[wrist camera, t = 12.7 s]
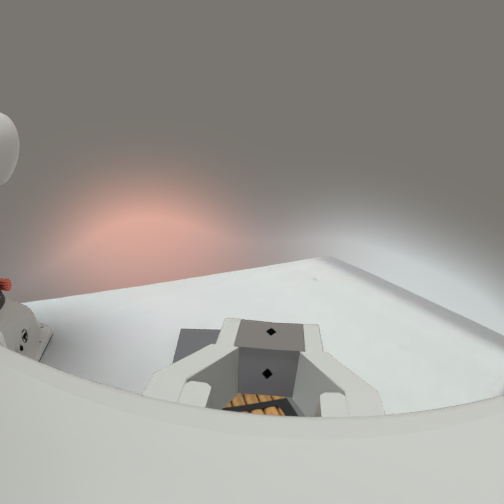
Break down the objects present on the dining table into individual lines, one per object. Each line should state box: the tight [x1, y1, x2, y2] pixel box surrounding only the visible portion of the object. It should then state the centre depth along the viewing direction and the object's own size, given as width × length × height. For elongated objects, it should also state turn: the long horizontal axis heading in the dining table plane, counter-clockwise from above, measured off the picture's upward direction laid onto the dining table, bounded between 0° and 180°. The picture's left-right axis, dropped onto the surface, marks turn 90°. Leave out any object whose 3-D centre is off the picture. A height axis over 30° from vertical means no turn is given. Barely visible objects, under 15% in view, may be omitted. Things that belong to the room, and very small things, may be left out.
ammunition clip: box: [221, 392, 299, 417], centre depth 34 cm, size 11×2×12 cm
